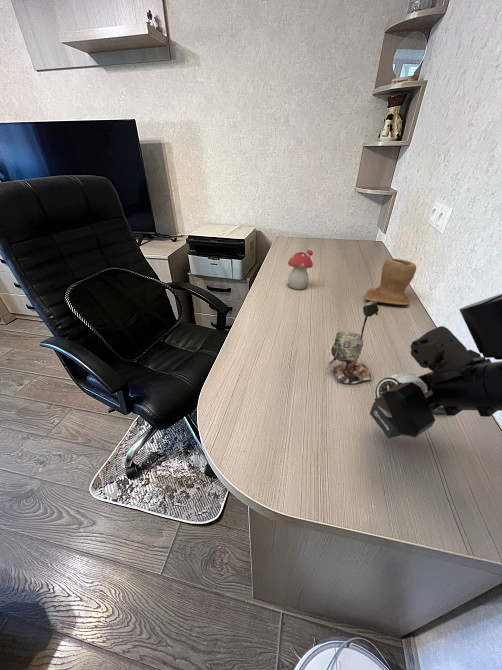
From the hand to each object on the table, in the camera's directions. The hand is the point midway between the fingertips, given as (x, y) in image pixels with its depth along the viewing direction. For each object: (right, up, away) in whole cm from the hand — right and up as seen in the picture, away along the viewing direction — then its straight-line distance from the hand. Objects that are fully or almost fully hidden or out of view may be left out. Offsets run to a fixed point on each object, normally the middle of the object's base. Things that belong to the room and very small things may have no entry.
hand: (393, 392), depth 47 cm
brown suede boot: (+26, +23, +56) cm, 65 cm away
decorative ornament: (-5, +29, +65) cm, 71 cm away
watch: (+1, -6, +3) cm, 7 cm away
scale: (+17, -5, +16) cm, 24 cm away
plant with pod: (0, 0, +23) cm, 23 cm away
